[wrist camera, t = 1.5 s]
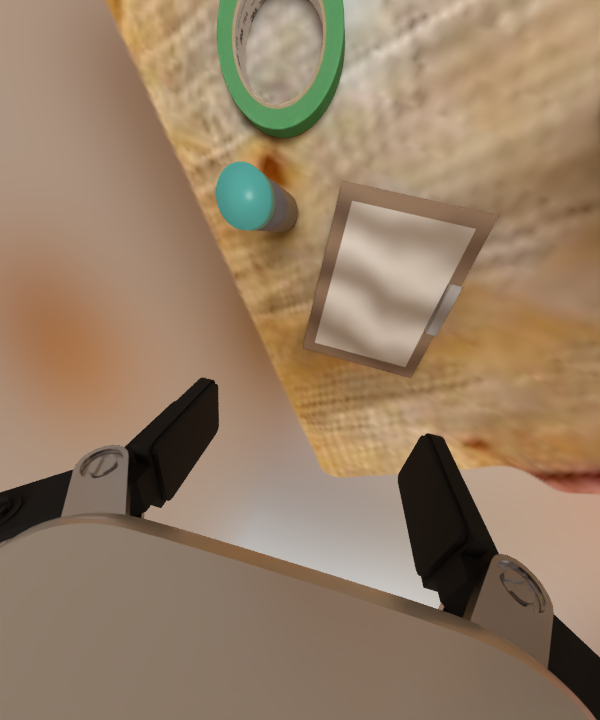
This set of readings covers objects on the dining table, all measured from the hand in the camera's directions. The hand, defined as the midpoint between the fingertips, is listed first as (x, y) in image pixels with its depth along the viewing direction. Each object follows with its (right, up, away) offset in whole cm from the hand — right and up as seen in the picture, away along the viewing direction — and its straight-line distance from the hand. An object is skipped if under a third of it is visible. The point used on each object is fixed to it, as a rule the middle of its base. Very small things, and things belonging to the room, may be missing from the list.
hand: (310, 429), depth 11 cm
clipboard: (+10, +12, +19) cm, 24 cm away
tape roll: (-2, +31, +11) cm, 33 cm away
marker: (-2, +21, +17) cm, 27 cm away
